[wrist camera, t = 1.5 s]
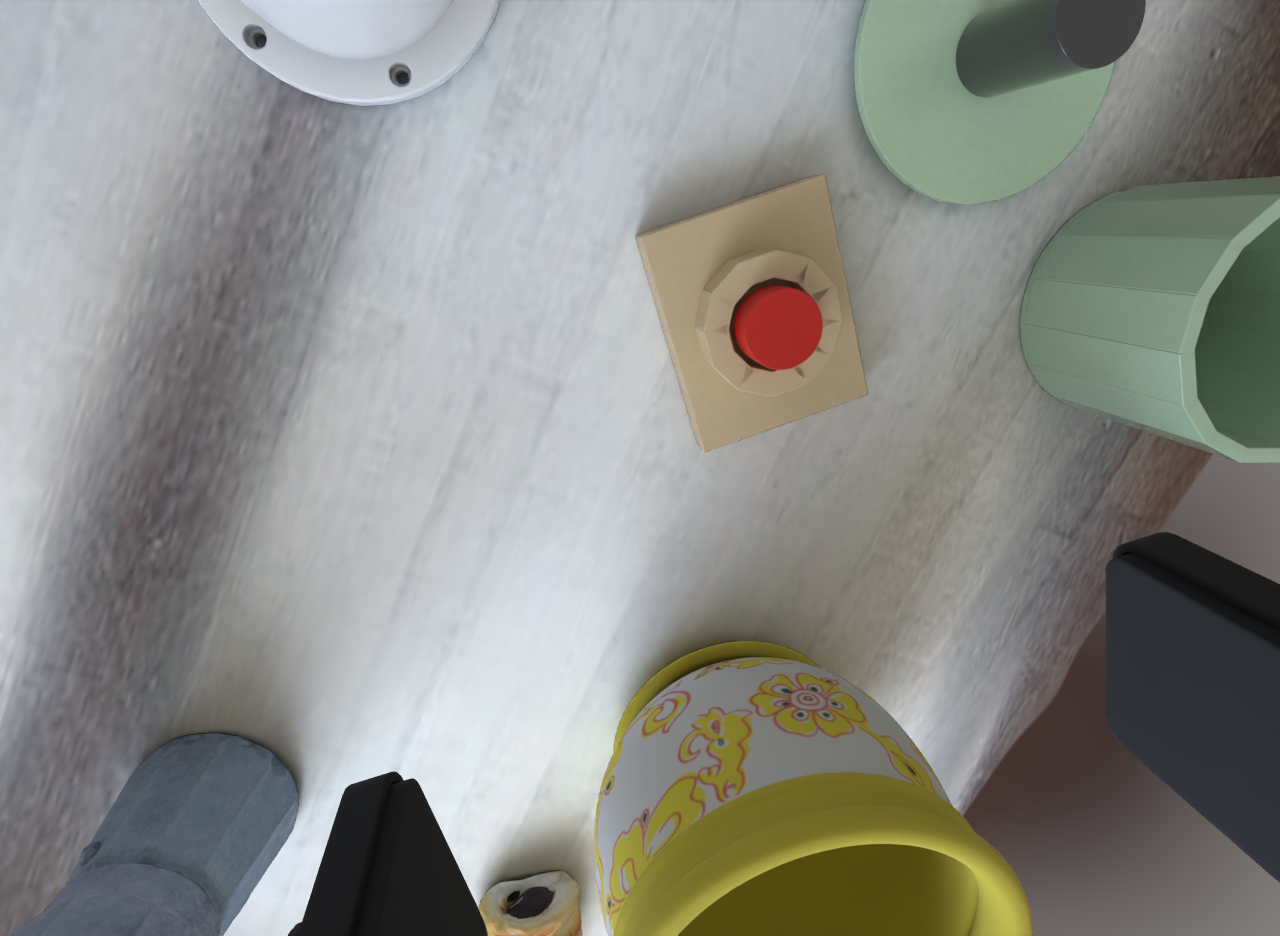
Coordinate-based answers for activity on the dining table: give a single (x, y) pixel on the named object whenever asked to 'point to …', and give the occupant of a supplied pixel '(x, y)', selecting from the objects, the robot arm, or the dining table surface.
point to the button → (778, 326)
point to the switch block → (716, 287)
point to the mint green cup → (1166, 314)
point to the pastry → (533, 907)
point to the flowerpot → (784, 813)
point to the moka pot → (179, 844)
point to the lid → (984, 87)
